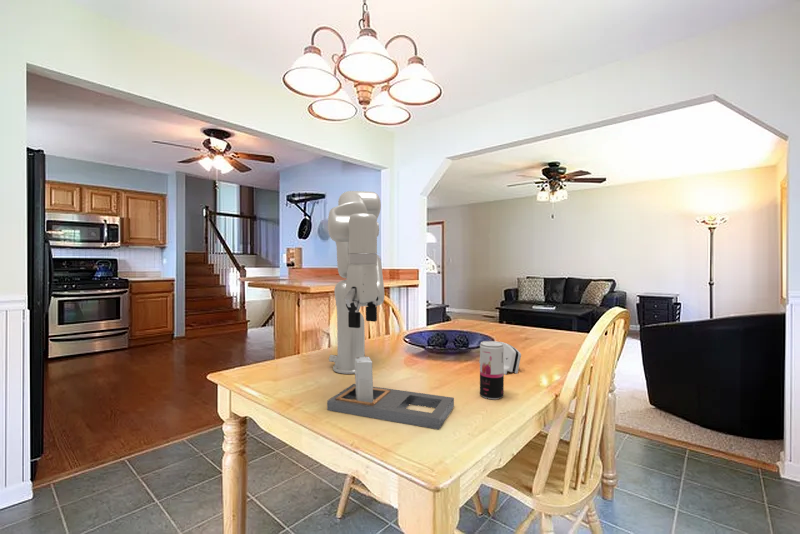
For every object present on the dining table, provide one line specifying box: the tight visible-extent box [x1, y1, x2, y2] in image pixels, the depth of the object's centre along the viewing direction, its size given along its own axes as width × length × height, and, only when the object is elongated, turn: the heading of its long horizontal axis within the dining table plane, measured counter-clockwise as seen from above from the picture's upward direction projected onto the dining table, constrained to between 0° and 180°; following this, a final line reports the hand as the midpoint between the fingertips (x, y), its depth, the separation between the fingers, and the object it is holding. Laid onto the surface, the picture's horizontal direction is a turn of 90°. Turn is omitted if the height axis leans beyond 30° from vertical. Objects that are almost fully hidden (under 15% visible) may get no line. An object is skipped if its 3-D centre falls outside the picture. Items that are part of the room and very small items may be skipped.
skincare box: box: [354, 356, 374, 403], centre depth 102 cm, size 6×4×12 cm
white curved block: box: [478, 341, 522, 376], centre depth 136 cm, size 17×5×10 cm, turn 21°
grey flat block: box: [326, 383, 455, 430], centre depth 99 cm, size 30×14×3 cm, turn 68°
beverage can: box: [479, 340, 505, 400], centre depth 108 cm, size 6×6×15 cm
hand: (363, 324), depth 102 cm, fingers open, 9 cm apart
